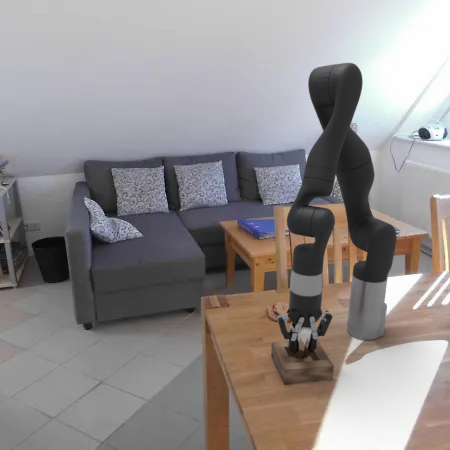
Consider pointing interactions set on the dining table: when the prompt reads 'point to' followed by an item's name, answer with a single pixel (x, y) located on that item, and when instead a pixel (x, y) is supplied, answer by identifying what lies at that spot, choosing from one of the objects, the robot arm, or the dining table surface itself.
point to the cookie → (277, 310)
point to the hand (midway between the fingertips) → (301, 350)
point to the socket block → (301, 364)
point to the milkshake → (303, 343)
